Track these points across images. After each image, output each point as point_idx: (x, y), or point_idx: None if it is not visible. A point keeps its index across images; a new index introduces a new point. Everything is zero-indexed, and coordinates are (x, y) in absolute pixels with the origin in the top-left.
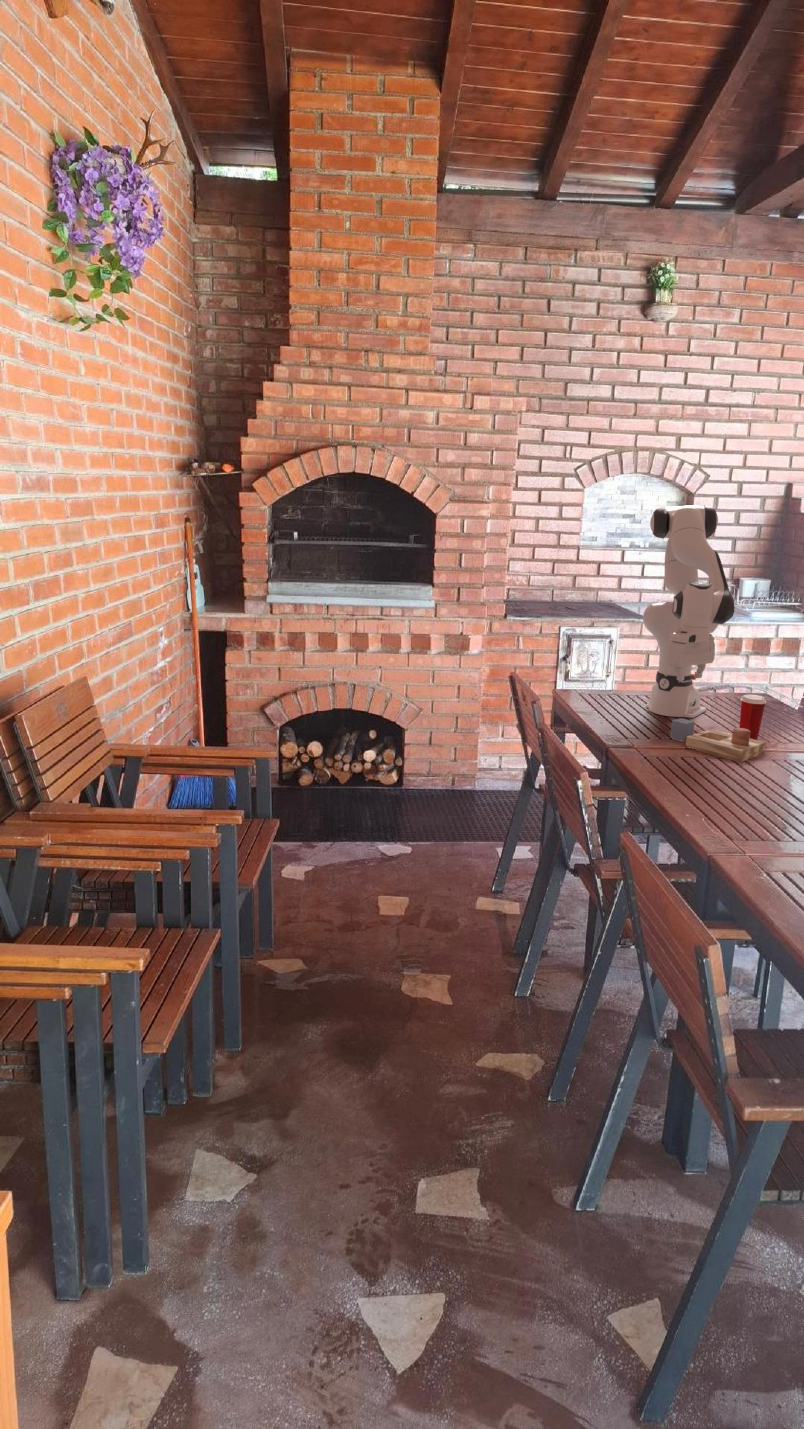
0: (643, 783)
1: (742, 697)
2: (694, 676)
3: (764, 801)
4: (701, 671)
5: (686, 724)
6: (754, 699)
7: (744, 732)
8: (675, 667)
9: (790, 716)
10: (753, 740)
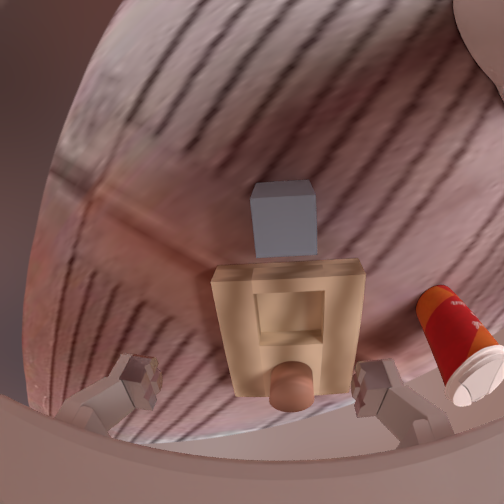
0: (23, 325)
1: (477, 363)
2: (359, 363)
3: (129, 427)
4: (383, 421)
5: (258, 256)
6: (453, 401)
7: (277, 409)
8: (59, 409)
9: None
10: (342, 377)
